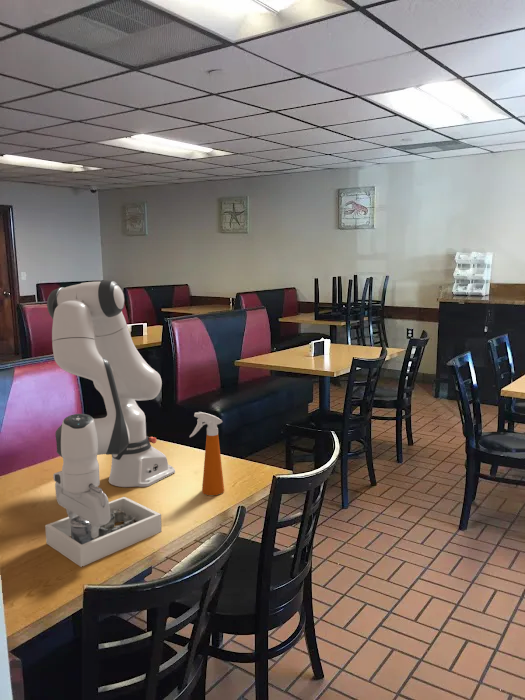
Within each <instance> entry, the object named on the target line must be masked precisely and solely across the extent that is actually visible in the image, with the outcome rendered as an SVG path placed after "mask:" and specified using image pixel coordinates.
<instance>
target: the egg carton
mask: <svg viewBox="0 0 525 700" xmlns="http://www.w3.org/2000/svg"><path fill="white" fill-rule="evenodd" d="M119 509H120V508H119ZM119 509H116V510H115V511H113V512H112V513H111V515H110V517H111V519H110V521H109V523H107V524H105V525H102V526H100V528H99V536H98V537H97V538H99V537H102V536H104V535H107V534H109V533H111V532H114V531H116V530H119V529H121V528H124V527H126V526H128V525H131V524H133V523H135V520H134V518H135V517H134V516H133V517H132V516H131V515H129V517H128V516H126V514H125V512H124V511H121V510H119ZM121 522H123V524H118V525H116V523H121Z"/></svg>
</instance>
